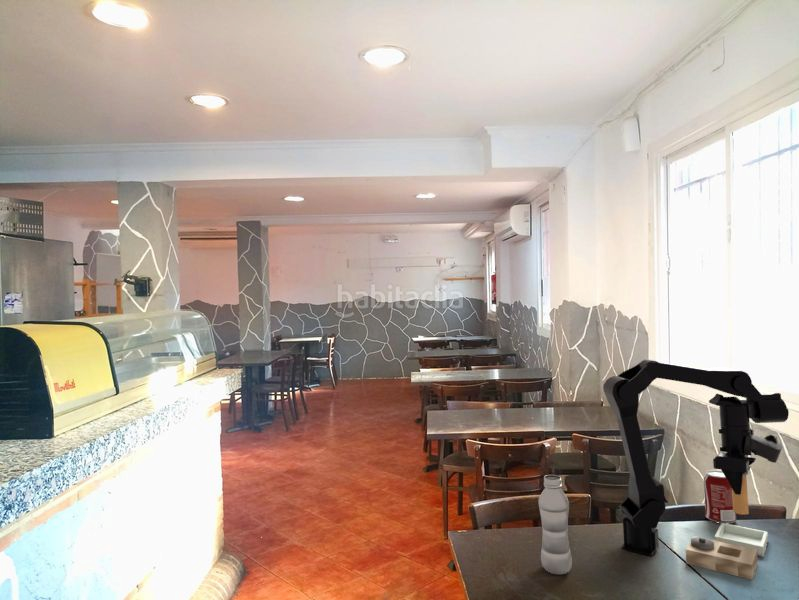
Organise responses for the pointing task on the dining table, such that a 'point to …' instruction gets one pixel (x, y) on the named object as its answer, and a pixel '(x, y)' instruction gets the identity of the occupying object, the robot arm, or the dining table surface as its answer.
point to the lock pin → (741, 499)
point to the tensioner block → (722, 557)
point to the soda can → (718, 497)
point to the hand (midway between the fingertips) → (739, 492)
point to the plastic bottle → (554, 527)
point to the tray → (743, 537)
